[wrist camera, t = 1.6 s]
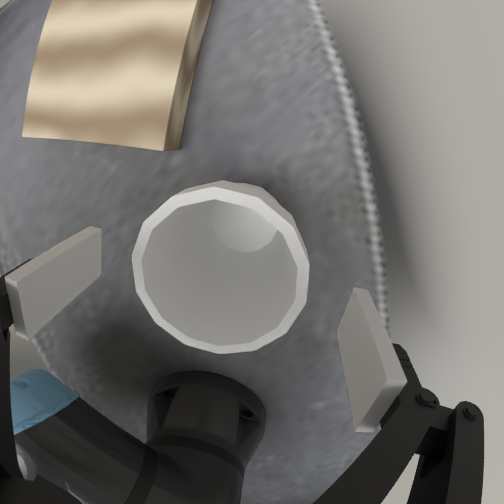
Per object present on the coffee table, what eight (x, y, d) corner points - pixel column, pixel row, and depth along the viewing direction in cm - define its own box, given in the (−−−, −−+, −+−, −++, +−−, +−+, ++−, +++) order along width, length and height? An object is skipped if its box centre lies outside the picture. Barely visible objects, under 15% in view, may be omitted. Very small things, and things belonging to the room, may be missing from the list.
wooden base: (179, 149, 27) (163, 151, 23) (46, 134, 27) (22, 136, 23) (216, -11, 21) (206, -30, 17) (76, -1, 21) (56, -12, 18)
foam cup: (313, 245, 29) (333, 323, 16) (223, 281, 31) (187, 369, 18) (270, 147, 26) (260, 153, 14) (177, 192, 28) (103, 234, 16)
